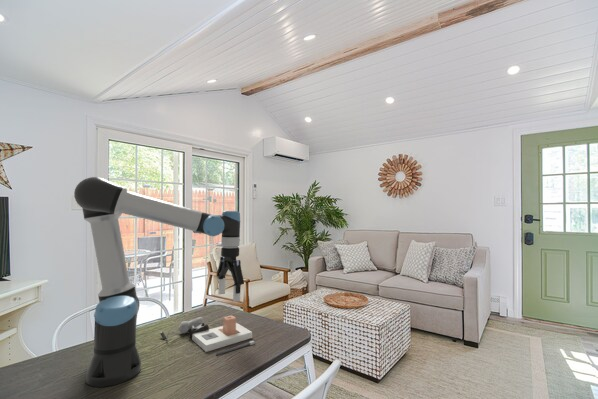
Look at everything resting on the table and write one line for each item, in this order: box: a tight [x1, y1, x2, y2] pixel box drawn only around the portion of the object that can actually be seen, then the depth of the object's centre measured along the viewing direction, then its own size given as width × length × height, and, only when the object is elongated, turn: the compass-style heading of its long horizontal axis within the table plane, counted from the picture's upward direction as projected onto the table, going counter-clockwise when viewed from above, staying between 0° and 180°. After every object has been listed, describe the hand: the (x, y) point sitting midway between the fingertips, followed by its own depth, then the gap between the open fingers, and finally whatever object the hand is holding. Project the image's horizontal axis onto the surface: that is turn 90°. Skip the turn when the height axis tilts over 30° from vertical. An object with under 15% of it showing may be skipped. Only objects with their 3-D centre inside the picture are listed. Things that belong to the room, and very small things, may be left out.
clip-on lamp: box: [159, 316, 210, 341], centre depth 127 cm, size 12×6×18 cm
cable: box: [215, 340, 256, 356], centre depth 115 cm, size 16×1×1 cm, turn 130°
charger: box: [222, 314, 237, 336], centre depth 127 cm, size 4×4×8 cm
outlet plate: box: [191, 322, 253, 353], centre depth 124 cm, size 20×14×3 cm
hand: (228, 297), depth 127 cm, fingers open, 13 cm apart
